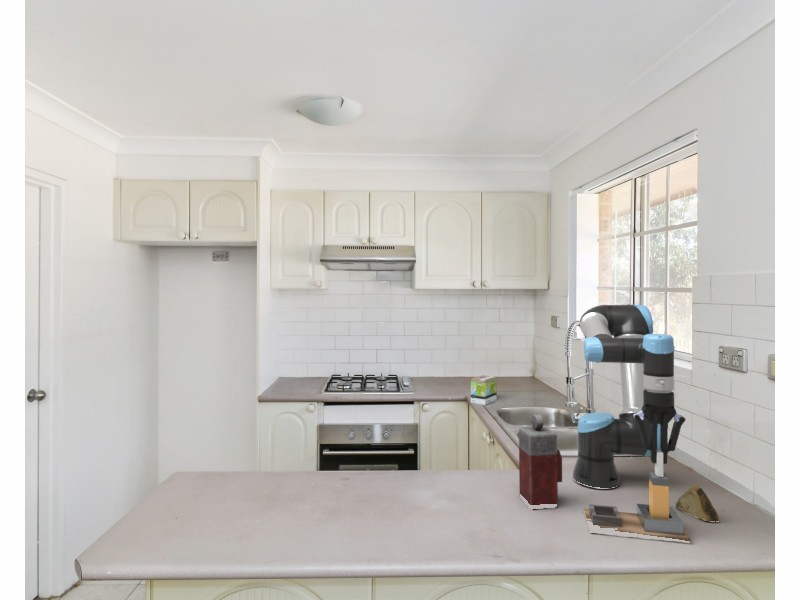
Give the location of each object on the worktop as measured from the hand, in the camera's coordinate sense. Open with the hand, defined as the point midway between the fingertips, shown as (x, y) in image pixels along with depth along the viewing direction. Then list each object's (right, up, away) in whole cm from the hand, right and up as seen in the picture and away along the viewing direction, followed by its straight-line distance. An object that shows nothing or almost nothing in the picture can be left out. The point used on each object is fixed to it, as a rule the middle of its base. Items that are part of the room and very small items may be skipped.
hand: (659, 474), depth 132 cm
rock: (+16, -16, +9) cm, 24 cm away
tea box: (-22, -13, +152) cm, 154 cm away
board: (-6, -16, +2) cm, 17 cm away
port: (0, -14, +1) cm, 14 cm away
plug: (0, -14, +1) cm, 14 cm away
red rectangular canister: (-27, -16, +19) cm, 37 cm away
